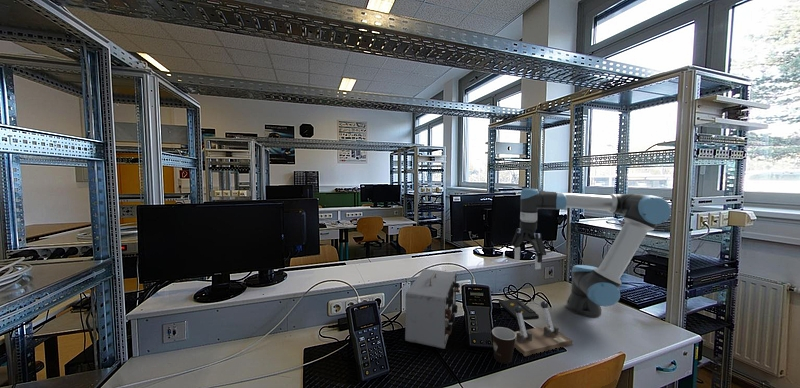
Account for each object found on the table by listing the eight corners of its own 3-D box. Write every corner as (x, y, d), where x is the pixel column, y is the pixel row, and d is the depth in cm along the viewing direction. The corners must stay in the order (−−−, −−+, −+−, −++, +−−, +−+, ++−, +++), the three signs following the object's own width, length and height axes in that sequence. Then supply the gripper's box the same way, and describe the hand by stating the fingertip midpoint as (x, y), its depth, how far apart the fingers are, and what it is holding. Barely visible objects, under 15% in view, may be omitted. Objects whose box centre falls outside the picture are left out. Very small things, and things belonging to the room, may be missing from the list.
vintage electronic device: (449, 354, 111) (450, 292, 109) (405, 345, 117) (405, 286, 115) (459, 315, 141) (460, 266, 139) (424, 309, 146) (424, 262, 144)
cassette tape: (538, 319, 138) (539, 315, 138) (517, 321, 137) (517, 316, 136) (518, 302, 156) (518, 298, 156) (498, 303, 154) (498, 300, 154)
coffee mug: (517, 367, 104) (518, 341, 103) (492, 364, 105) (493, 338, 104) (511, 347, 115) (512, 324, 114) (489, 345, 117) (489, 322, 116)
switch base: (548, 329, 128) (549, 318, 128) (572, 344, 117) (572, 333, 117) (504, 338, 121) (504, 327, 121) (524, 356, 110) (525, 344, 109)
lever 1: (525, 337, 118) (517, 305, 122) (530, 338, 115) (522, 305, 119) (519, 338, 117) (511, 306, 121) (524, 339, 114) (516, 306, 119)
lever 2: (552, 331, 122) (543, 300, 126) (557, 332, 120) (548, 300, 124) (546, 332, 121) (538, 301, 126) (551, 333, 119) (543, 301, 123)
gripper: (504, 217, 146) (503, 257, 148) (543, 226, 123) (541, 274, 125) (516, 216, 149) (515, 256, 150) (556, 225, 125) (554, 271, 127)
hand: (527, 264), depth 137 cm, fingers open, 13 cm apart
